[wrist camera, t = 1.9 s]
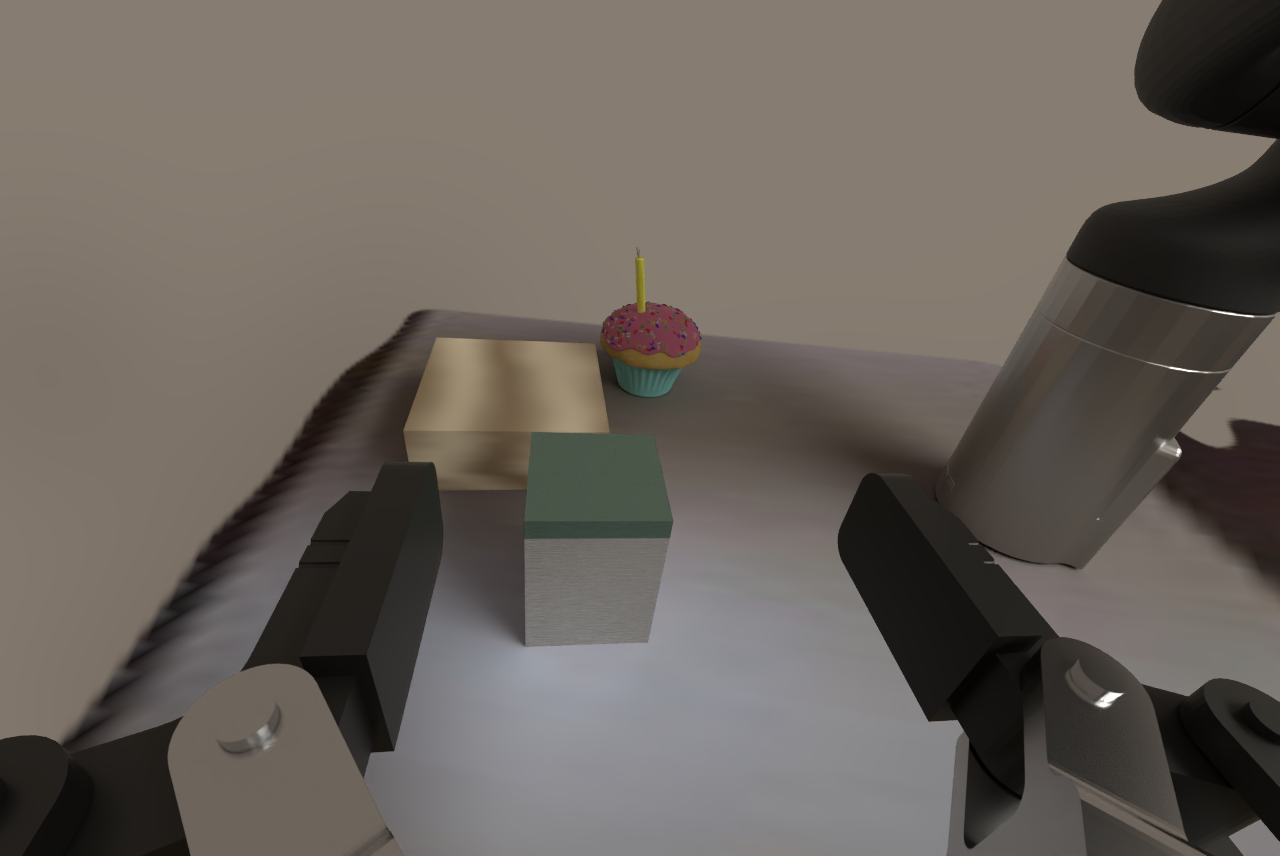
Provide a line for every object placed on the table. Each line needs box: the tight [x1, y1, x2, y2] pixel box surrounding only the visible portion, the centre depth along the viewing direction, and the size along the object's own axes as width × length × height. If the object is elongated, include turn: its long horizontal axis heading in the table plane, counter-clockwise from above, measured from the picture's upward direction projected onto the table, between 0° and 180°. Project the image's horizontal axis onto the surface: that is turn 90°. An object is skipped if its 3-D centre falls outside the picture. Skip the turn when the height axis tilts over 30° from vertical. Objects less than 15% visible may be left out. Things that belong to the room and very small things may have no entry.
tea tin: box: [524, 432, 673, 647], centre depth 26 cm, size 6×6×8 cm
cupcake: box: [600, 247, 702, 397], centre depth 45 cm, size 9×8×12 cm
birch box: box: [403, 338, 610, 490], centre depth 38 cm, size 12×12×5 cm
